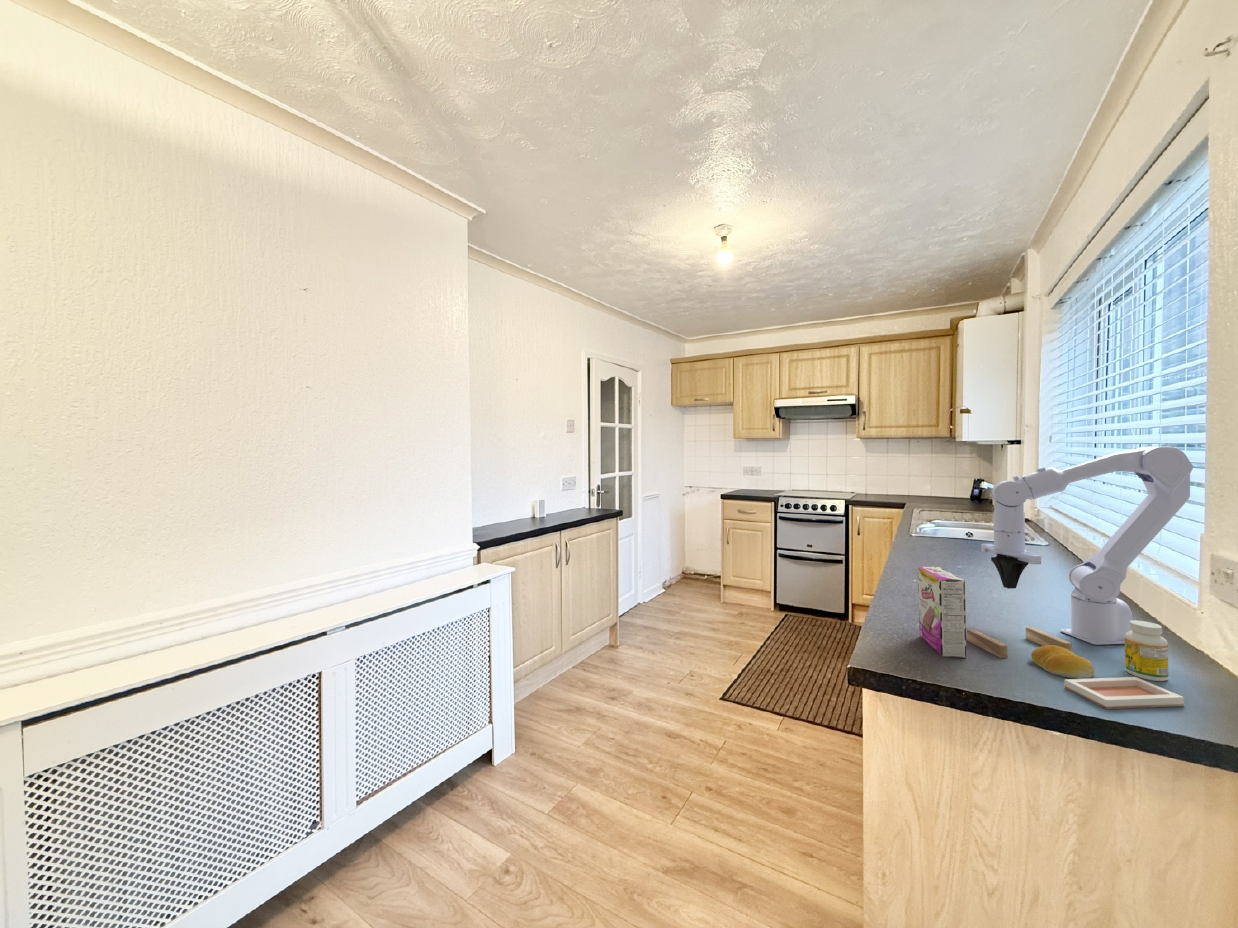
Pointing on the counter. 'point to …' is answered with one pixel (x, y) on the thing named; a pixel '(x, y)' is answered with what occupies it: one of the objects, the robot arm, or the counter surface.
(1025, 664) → the counter surface
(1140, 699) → the tray
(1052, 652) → the bread roll
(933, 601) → the candy bar box
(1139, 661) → the supplement bottle
